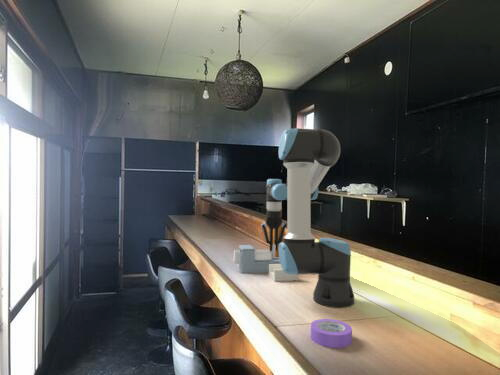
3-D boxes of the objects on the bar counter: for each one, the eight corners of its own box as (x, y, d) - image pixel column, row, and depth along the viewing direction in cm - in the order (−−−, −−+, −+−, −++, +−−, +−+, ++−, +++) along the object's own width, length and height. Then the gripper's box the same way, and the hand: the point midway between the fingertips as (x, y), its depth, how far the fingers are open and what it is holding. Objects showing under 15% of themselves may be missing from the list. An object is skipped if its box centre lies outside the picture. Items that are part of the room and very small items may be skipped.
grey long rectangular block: (268, 260, 189) (269, 249, 189) (271, 262, 184) (271, 251, 183) (233, 261, 186) (233, 250, 186) (234, 263, 180) (235, 252, 180)
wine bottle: (286, 264, 197) (287, 207, 196) (267, 263, 199) (268, 207, 198) (288, 260, 206) (289, 206, 205) (270, 259, 208) (271, 205, 207)
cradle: (298, 280, 168) (298, 269, 167) (274, 281, 166) (274, 270, 165) (291, 274, 178) (291, 263, 178) (268, 274, 176) (268, 264, 176)
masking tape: (345, 330, 115) (345, 318, 114) (357, 348, 103) (357, 334, 103) (307, 330, 114) (307, 318, 114) (315, 348, 103) (315, 334, 102)
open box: (286, 271, 183) (287, 248, 182) (242, 273, 179) (242, 249, 178) (281, 266, 193) (281, 244, 192) (238, 267, 188) (239, 245, 188)
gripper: (284, 209, 190) (283, 255, 191) (259, 209, 188) (259, 255, 189) (288, 210, 183) (287, 258, 184) (262, 211, 181) (262, 259, 182)
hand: (273, 257), depth 187 cm, fingers closed
